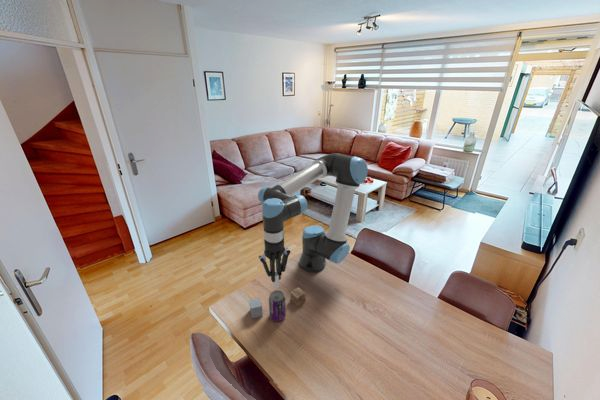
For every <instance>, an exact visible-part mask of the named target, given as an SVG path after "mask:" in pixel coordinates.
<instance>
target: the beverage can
mask: <svg viewBox="0 0 600 400" xmlns="http://www.w3.org/2000/svg"><path fill="white" fill-rule="evenodd" d="M286 306H287V305H286V296H285V294H284V292H283V291H282V290H279V289H275V290H273V291H271V292H270V294H269V297H268V308H269V309H268V310H269V318H270V320H272V321H274V322H280V321H281V322H282V321H283V320H284V319H285V318H286V315H287V311H286Z"/></svg>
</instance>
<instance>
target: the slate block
mask: <svg viewBox="0 0 600 400" xmlns="http://www.w3.org/2000/svg"><path fill="white" fill-rule="evenodd" d="M248 304H249V310H250V317H251V319H255V318H260V317H264V316H263V315H264V314H263V305H262V304H263V303H262V301H261V297H257V298H253V299H249V300H248Z"/></svg>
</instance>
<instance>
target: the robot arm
mask: <svg viewBox="0 0 600 400" xmlns="http://www.w3.org/2000/svg"><path fill="white" fill-rule="evenodd" d="M368 168H369V167H368V165H367V162H366V160H365V159H364V158H361V157H358V156H354V155H353V156H352V155H348V154H343V153H338V152H337V153H335V152H334V153H329V154H326V155H323V156H320V157H318V158H317V159H315V160H314V161H312V162H311V164H310V165H309V166H307V167H305V168H303V169H301V170H300V171H298V172H297V173H295V174H293V175H291V176H289V177H288V178H286V179H285V180H282V181H281V182H279V183H278V184H276V185H274V186H272V187H270V186H264V187H262V188H260V190H259V191H258V194H257V198H258V201H259V202H260V203H261V204H262V207H261V208H262V209H261V214H262V223H263V224H262V225H263V226H262V227H263V240H264V241H263V242H264V251H263V254H262V255H258V259H259V261H260V262H261V263H262V266H263V267H264V271H265V274H266V275H267V277H270V279H271V281H272V284H273V287H274V288H275V290H278V289H279V288H280V280H281V279H282V275H283V274H282V273H284V272H285V271H286V268H287V264H288V259H289V256H290V254H291V250H290V248H288V247H286V248H285V233H284V232H285V231H284V230H285V228H284V227H285V226H284V225H285V222H286V221H288V220H291V219H293V218H295V217H298V216H301V214H303V213H305V212H306V211H307V210H308V201H307V199H306V198H305V196H304V195H302V194H297V195H295V194H296V193H298V192H300V191H302V190H303V189H305V188H306V187H308V186H310V185H311V184H312V183H314V182H316V181H317V180H319V179H324V178H326V177H328V176H330V177H334V178H335V183H336V185H337V188H336V194H335V198H334V203H333V208H332V212H331V217H330V221H329V222H330V223H329V227H328V230H327V231H325V228H324V227H323V226H320V225H309V226H307V227H305V228H304V229H303V230H302V237H301V238H302V252H301V255H300V257H299V261H298V262H299V267H300V268H301V269H302V270H303V271H305V272H306V271H307V272H309V273H315V272H316V273H317V272H321V271H322V270H324V269H325V268H326V265H327V264H326V261H329V262H331V263H334V264H337V265H338V264H341V263H342V262H343V261H344V260H346V258H347V257H348V255H349V252H350V249H351V248H350V247H351V246H350V244H348V242H347V241H348V237H347V235H346V232H347V228H348V224H349V220H350V214H351V210H352V206H353V201H354V197H355V192H356V189H358V188H360V185H361V184H364V182H365V181H366V179H367V177H368ZM267 259H268V260H269V266H268V264H267V261H266V260H267Z"/></svg>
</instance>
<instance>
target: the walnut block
mask: <svg viewBox="0 0 600 400" xmlns="http://www.w3.org/2000/svg"><path fill="white" fill-rule="evenodd" d="M289 295H290V298H289V299H290V301H291V302H292V303H293V304H294V305H295V306H297V307H298V306H300V305H301V304H303V303H304V302H305V301H306V292H305V291H303V290H302V289H301V288H300V287H297V288H294V289H293V290H292V291H290V293H289Z"/></svg>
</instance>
